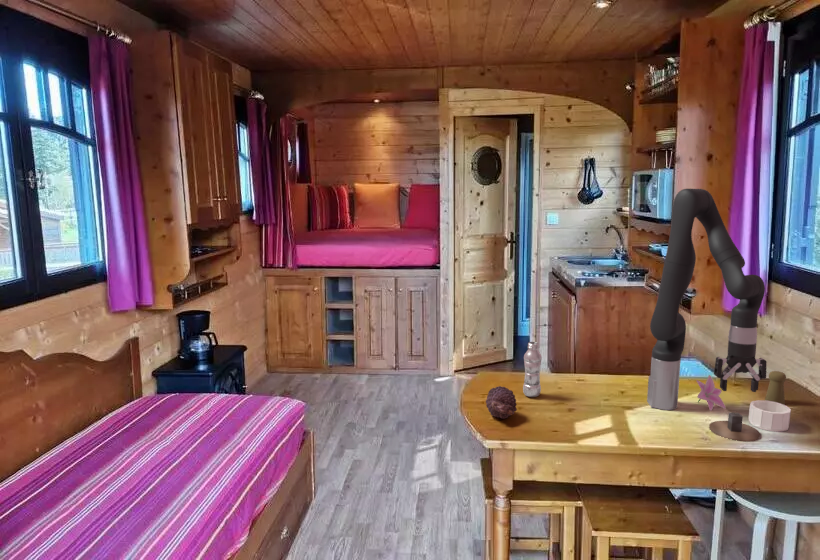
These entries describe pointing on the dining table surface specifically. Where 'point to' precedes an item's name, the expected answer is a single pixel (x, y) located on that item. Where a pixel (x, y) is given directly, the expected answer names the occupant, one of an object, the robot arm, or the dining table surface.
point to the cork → (776, 387)
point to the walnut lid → (734, 429)
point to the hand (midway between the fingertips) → (738, 390)
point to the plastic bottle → (532, 370)
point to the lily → (710, 393)
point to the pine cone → (501, 402)
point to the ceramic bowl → (769, 415)
